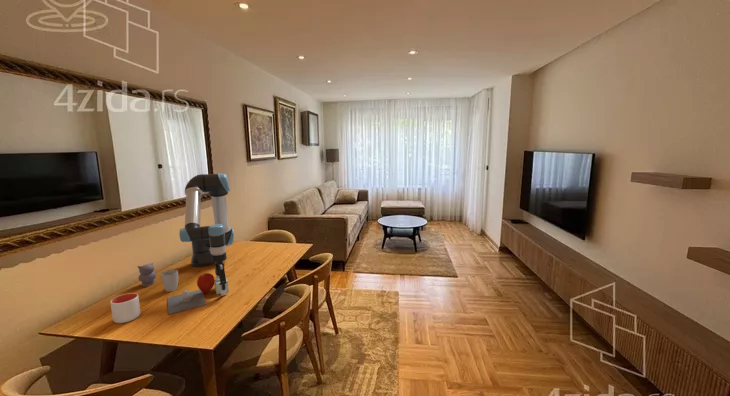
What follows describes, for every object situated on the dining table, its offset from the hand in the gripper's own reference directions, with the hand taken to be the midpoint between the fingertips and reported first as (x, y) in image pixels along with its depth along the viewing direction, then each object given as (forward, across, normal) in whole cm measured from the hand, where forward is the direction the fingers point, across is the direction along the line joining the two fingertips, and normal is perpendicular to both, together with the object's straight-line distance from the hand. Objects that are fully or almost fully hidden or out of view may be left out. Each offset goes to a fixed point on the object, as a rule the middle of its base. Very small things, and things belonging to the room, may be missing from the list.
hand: (221, 290), depth 163 cm
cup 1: (+1, +4, -41) cm, 41 cm away
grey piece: (0, +2, -17) cm, 17 cm away
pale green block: (0, 0, 0) cm, 0 cm away
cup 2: (0, -19, -23) cm, 30 cm away
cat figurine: (0, -36, -34) cm, 49 cm away
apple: (0, -2, -8) cm, 8 cm away
